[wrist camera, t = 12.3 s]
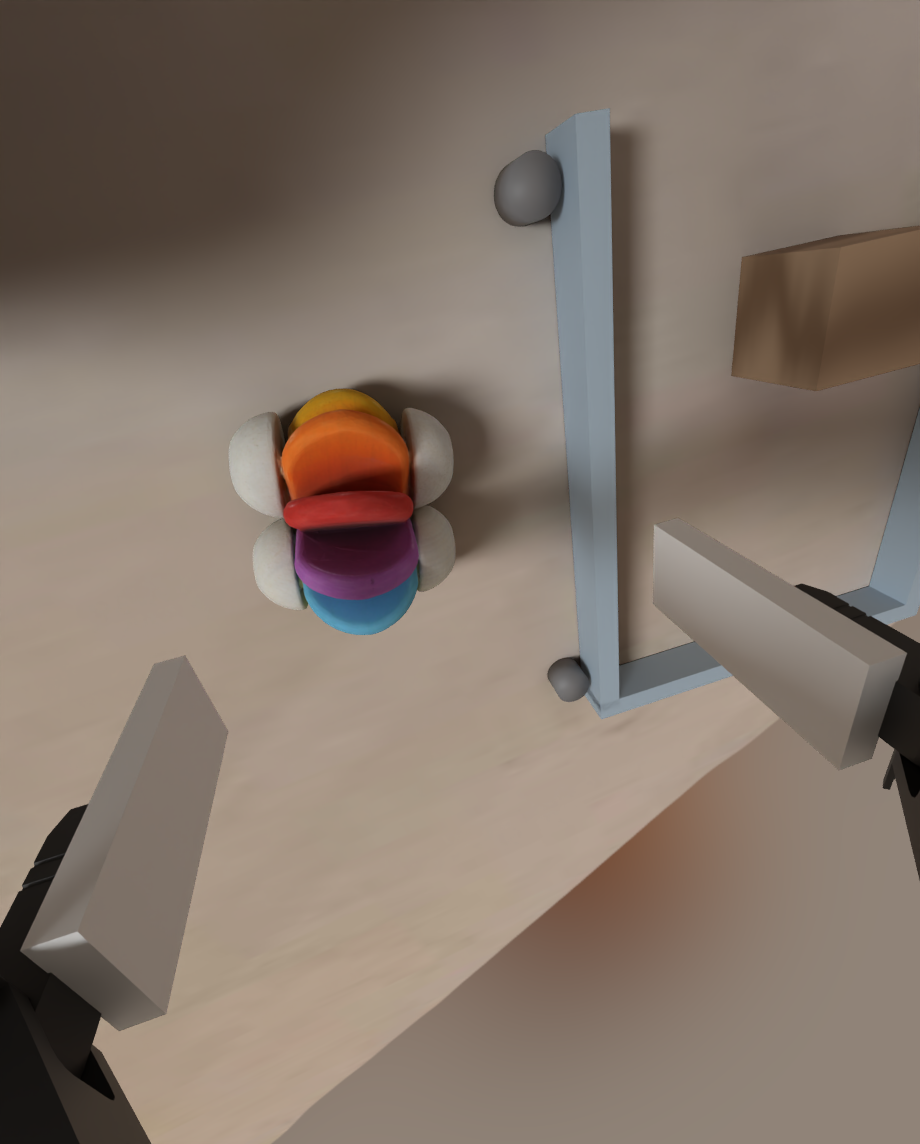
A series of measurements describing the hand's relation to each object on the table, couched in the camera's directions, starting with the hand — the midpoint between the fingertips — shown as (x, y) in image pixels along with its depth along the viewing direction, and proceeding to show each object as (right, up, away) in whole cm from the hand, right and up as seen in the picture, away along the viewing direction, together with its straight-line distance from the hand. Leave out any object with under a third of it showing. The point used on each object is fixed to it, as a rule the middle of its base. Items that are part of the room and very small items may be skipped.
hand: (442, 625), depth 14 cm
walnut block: (+16, +14, +10) cm, 23 cm away
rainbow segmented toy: (-5, +5, +9) cm, 11 cm away
